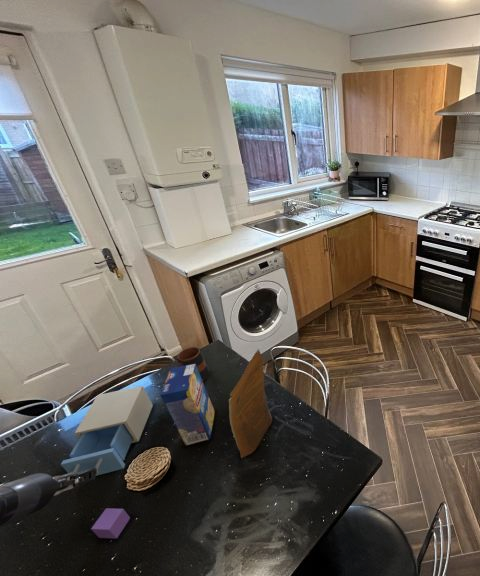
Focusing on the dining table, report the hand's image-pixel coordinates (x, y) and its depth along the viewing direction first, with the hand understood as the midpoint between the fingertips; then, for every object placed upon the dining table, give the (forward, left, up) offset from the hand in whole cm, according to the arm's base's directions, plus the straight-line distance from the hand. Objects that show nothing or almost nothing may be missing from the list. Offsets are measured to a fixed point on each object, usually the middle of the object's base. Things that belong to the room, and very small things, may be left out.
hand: (73, 477), depth 78 cm
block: (+1, -13, -10) cm, 17 cm away
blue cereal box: (+28, -3, -10) cm, 30 cm away
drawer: (+6, +8, -9) cm, 13 cm away
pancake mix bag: (+37, -21, -10) cm, 44 cm away
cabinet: (+14, +18, -10) cm, 24 cm away
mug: (+38, +20, -10) cm, 44 cm away
